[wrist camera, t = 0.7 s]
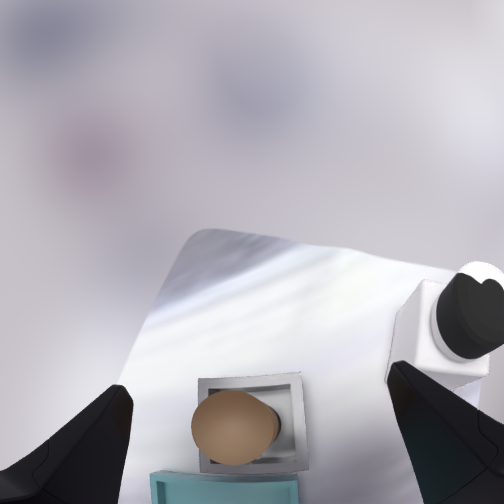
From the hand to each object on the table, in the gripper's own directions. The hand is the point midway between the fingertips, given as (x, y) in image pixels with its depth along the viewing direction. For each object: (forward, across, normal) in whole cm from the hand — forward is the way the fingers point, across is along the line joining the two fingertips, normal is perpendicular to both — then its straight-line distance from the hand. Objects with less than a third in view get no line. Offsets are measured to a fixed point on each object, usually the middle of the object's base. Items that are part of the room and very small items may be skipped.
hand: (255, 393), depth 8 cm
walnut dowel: (+7, +1, +13) cm, 15 cm away
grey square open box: (+8, +1, +14) cm, 16 cm away
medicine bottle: (+10, -15, +12) cm, 22 cm away
